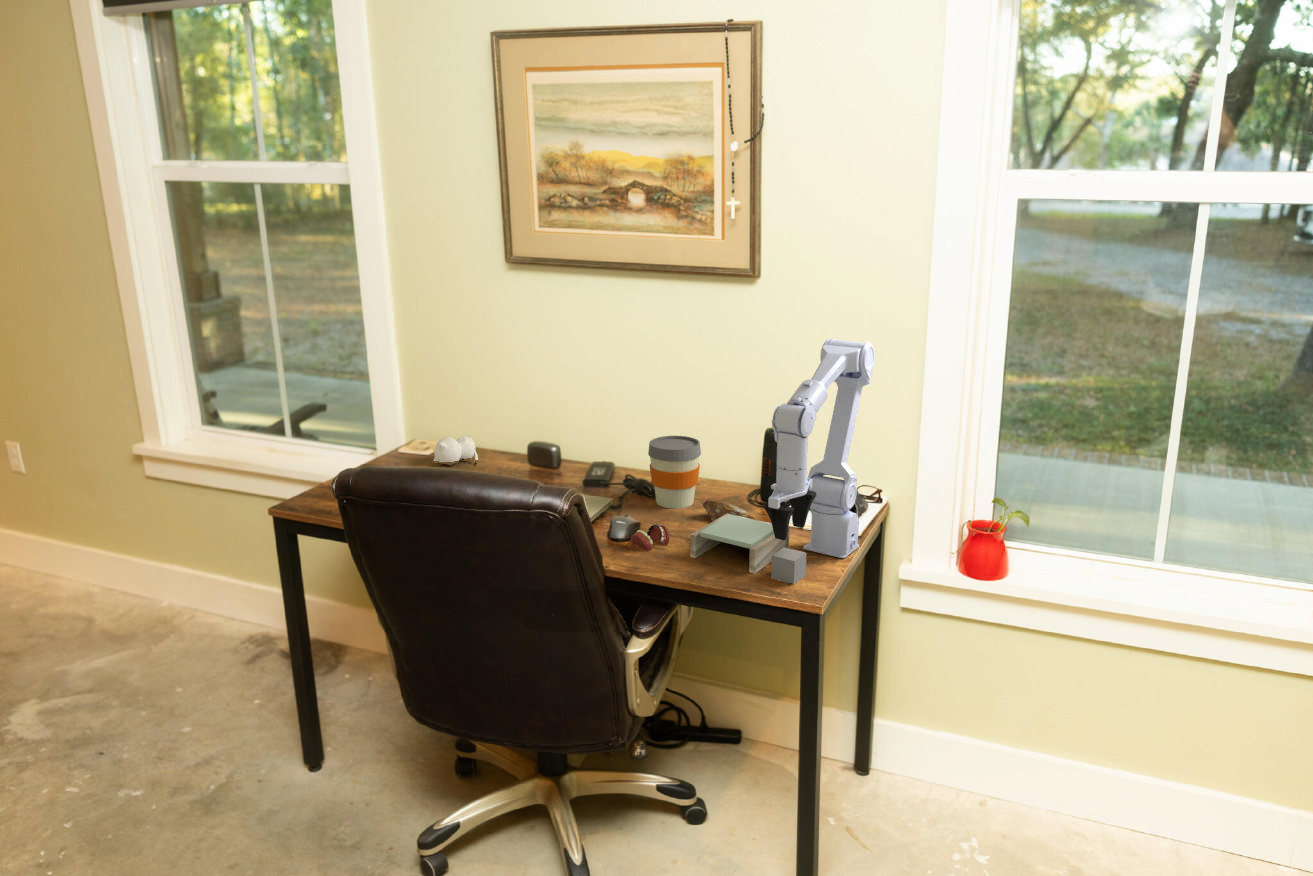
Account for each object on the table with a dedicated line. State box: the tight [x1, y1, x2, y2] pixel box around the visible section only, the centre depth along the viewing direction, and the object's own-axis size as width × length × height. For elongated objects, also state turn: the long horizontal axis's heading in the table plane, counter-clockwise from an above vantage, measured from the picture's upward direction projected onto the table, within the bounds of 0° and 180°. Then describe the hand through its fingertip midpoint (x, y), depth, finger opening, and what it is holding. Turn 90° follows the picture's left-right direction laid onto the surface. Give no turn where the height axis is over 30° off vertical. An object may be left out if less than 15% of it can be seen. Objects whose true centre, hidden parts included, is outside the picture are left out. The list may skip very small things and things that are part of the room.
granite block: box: [770, 547, 807, 585], centre depth 189 cm, size 5×5×5 cm
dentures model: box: [630, 524, 670, 552], centre depth 206 cm, size 6×4×8 cm
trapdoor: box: [700, 515, 774, 550], centre depth 200 cm, size 12×12×1 cm
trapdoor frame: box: [689, 514, 791, 574], centre depth 201 cm, size 15×15×5 cm
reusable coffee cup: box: [647, 435, 702, 509], centre depth 230 cm, size 13×13×15 cm
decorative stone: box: [702, 498, 756, 522], centre depth 218 cm, size 10×4×15 cm
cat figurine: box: [432, 435, 479, 462], centre depth 262 cm, size 9×11×12 cm
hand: (789, 532), depth 187 cm, fingers open, 7 cm apart
